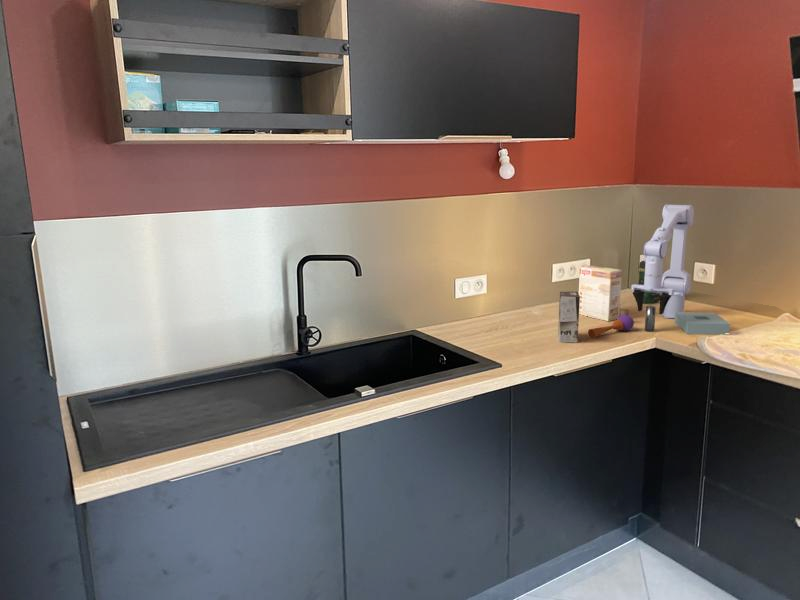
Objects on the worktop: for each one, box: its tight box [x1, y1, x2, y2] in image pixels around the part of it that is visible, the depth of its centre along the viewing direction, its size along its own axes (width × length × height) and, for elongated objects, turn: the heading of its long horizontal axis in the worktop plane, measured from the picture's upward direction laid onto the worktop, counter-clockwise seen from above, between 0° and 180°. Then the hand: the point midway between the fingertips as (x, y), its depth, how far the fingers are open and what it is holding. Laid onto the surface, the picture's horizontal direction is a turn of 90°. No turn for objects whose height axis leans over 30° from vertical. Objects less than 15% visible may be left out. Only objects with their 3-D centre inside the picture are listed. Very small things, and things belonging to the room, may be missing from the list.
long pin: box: [644, 305, 657, 333], centre depth 225 cm, size 3×3×9 cm
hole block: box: [674, 311, 731, 336], centre depth 228 cm, size 16×14×4 cm
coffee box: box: [557, 291, 580, 343], centre depth 217 cm, size 9×6×16 cm
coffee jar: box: [637, 260, 661, 304], centre depth 269 cm, size 10×8×19 cm
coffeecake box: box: [578, 265, 623, 322], centre depth 246 cm, size 15×7×20 cm, turn 34°
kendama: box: [587, 314, 635, 339], centre depth 224 cm, size 6×6×20 cm
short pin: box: [619, 308, 630, 317], centre depth 238 cm, size 3×3×5 cm
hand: (650, 312), depth 225 cm, fingers open, 7 cm apart
